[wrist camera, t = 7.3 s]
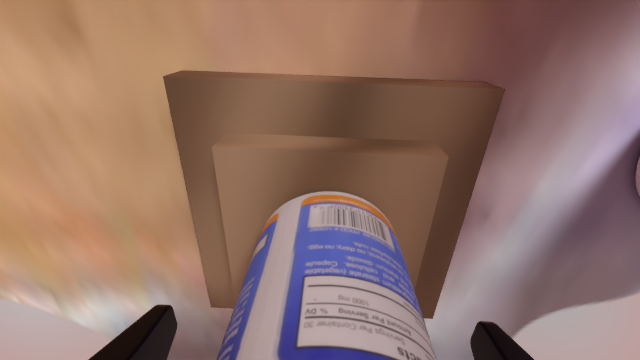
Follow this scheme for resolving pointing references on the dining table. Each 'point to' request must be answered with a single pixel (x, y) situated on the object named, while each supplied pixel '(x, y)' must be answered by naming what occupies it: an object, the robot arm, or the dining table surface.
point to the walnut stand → (328, 160)
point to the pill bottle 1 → (327, 288)
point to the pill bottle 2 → (638, 177)
